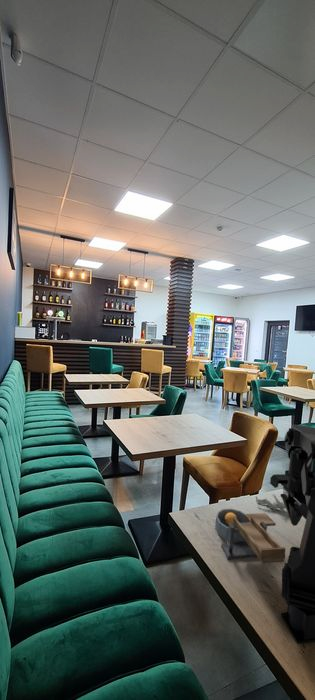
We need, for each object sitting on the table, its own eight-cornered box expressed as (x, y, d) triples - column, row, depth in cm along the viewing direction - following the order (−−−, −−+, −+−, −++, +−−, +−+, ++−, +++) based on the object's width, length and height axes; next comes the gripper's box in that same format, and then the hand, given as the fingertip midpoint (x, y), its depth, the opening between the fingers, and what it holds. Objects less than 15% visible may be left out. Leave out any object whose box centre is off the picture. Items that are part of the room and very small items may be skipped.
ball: (234, 523, 103) (239, 527, 99) (223, 524, 102) (227, 528, 99) (233, 510, 104) (239, 514, 100) (222, 511, 103) (227, 514, 99)
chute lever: (310, 560, 78) (310, 546, 78) (258, 564, 75) (258, 550, 76) (265, 516, 99) (265, 505, 100) (223, 518, 97) (224, 507, 97)
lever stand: (269, 556, 89) (272, 529, 88) (227, 559, 87) (230, 531, 86) (261, 544, 94) (264, 518, 93) (221, 546, 92) (223, 520, 91)
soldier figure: (257, 501, 119) (290, 498, 116) (260, 514, 116) (293, 512, 113) (254, 494, 114) (288, 491, 111) (256, 508, 111) (292, 505, 107)
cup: (256, 541, 95) (258, 529, 95) (223, 543, 93) (224, 531, 93) (241, 519, 106) (242, 508, 105) (210, 520, 104) (211, 509, 104)
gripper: (352, 488, 76) (345, 547, 78) (305, 455, 95) (299, 503, 96) (312, 489, 74) (305, 550, 76) (271, 456, 93) (266, 505, 94)
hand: (294, 524), depth 85 cm, fingers closed
